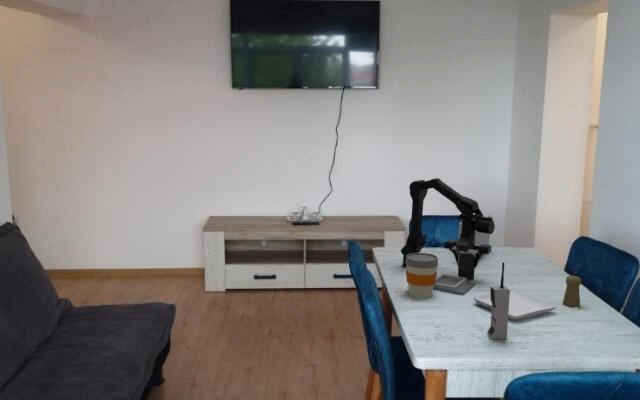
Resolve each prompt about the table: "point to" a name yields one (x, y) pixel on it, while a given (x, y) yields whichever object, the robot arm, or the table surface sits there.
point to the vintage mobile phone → (499, 310)
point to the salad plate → (519, 304)
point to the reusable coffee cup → (421, 274)
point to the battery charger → (466, 265)
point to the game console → (477, 239)
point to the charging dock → (453, 284)
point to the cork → (572, 292)
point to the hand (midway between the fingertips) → (466, 266)
